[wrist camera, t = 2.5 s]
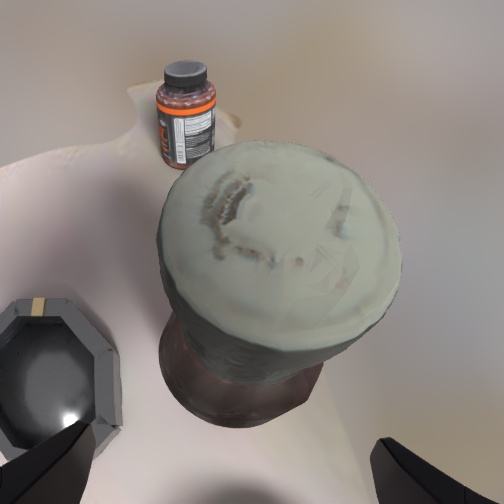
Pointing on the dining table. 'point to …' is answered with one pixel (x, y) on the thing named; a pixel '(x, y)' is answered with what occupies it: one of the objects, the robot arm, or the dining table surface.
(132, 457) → the dining table surface
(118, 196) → the dining table surface
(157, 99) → the supplement bottle
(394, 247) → the sauce bottle
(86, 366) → the dark grey octagonal tray
